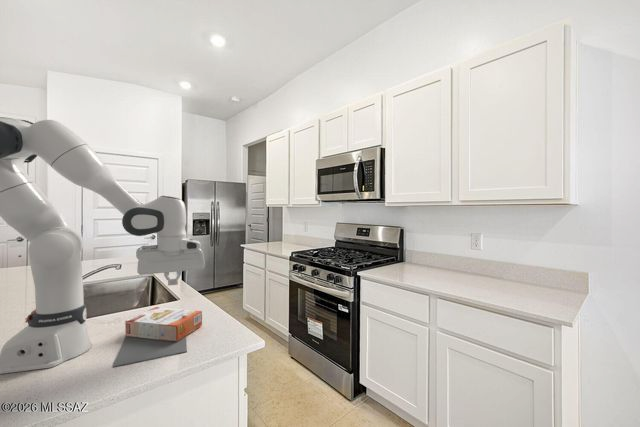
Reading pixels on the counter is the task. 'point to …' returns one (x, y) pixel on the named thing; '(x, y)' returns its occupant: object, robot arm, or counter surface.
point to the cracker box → (163, 324)
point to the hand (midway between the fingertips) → (173, 284)
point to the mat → (147, 349)
